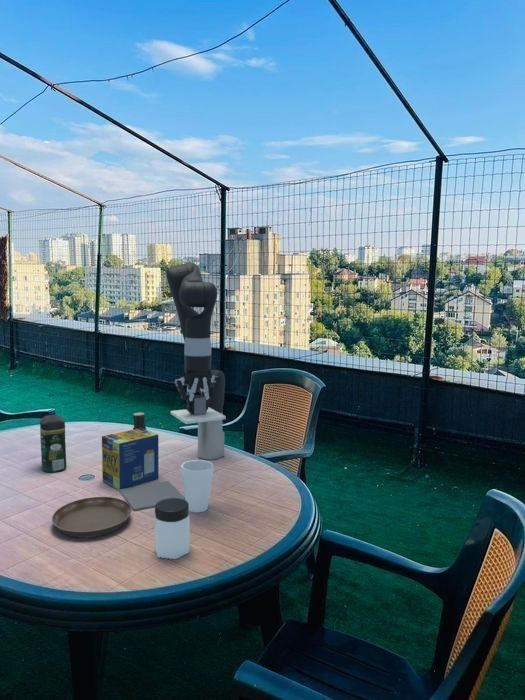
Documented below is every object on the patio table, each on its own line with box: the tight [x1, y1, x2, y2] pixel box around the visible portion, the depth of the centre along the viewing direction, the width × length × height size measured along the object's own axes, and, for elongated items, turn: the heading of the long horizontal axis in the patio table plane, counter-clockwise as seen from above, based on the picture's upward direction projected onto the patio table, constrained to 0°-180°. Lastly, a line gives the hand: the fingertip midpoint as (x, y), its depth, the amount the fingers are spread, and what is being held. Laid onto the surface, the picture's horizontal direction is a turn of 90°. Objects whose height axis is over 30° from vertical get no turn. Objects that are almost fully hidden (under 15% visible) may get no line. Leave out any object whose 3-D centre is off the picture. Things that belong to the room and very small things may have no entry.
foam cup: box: [180, 459, 215, 513], centre depth 154 cm, size 10×9×13 cm
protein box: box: [101, 428, 159, 491], centre depth 174 cm, size 10×15×16 cm
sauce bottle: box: [132, 411, 148, 430], centre depth 184 cm, size 6×6×20 cm
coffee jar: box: [39, 414, 67, 473], centre depth 183 cm, size 10×8×19 cm
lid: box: [170, 394, 226, 425], centre depth 151 cm, size 12×12×6 cm
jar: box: [154, 498, 191, 560], centre depth 130 cm, size 9×8×12 cm
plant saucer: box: [51, 496, 133, 538], centre depth 144 cm, size 21×21×3 cm
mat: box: [118, 480, 185, 512], centre depth 163 cm, size 16×16×1 cm
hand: (197, 412), depth 151 cm, fingers closed on lid, 3 cm apart
